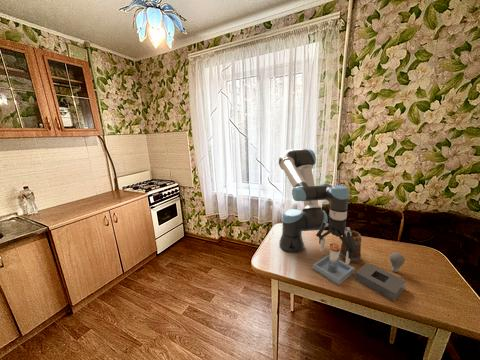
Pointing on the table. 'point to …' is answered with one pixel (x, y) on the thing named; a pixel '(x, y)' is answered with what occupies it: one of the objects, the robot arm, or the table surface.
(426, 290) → the table surface
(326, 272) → the tray
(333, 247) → the pin
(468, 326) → the table surface
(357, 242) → the mug
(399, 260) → the light bulb
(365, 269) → the hitch block
